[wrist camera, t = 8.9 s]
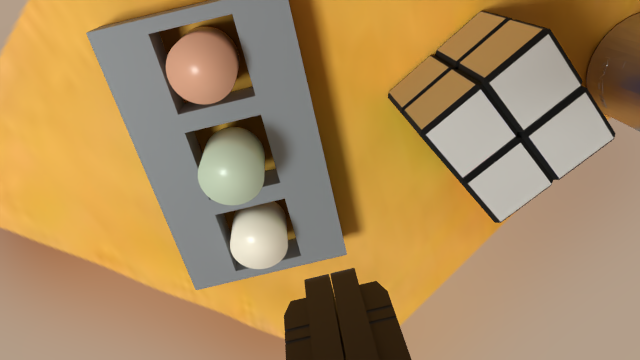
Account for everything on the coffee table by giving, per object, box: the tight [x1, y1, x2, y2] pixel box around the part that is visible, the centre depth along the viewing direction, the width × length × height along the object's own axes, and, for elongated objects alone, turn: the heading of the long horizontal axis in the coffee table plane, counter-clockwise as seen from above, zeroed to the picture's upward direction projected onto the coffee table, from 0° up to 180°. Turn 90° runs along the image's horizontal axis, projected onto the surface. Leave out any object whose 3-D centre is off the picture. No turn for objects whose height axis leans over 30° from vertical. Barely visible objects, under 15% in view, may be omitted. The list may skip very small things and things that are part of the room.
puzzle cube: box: [388, 11, 615, 223], centre depth 36 cm, size 10×10×10 cm
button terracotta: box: [166, 27, 240, 104], centre depth 34 cm, size 5×5×4 cm
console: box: [86, 0, 347, 290], centre depth 39 cm, size 14×23×3 cm, turn 12°
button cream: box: [230, 201, 288, 269], centre depth 41 cm, size 5×5×4 cm
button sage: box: [198, 127, 265, 205], centre depth 36 cm, size 5×5×4 cm
